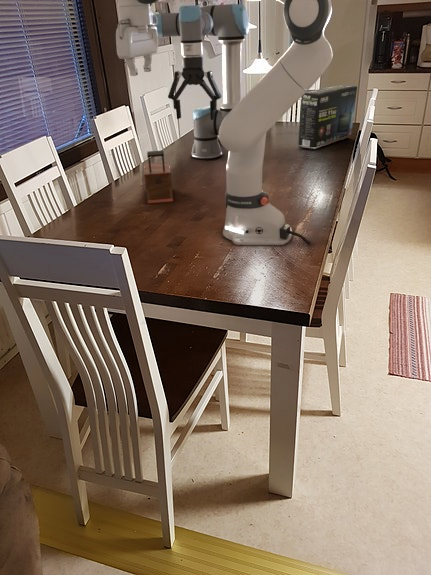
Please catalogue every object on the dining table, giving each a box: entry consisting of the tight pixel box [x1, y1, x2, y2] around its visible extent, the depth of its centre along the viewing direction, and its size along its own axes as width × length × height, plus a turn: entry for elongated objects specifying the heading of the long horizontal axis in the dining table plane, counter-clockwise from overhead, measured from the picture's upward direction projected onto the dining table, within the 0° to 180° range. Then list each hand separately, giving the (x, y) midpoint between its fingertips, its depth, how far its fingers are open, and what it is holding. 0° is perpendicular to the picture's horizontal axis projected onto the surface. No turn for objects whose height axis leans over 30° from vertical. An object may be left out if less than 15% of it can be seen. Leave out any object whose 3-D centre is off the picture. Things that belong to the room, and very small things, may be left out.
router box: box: [297, 84, 358, 151], centre depth 238 cm, size 36×11×27 cm, turn 134°
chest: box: [144, 174, 174, 204], centre depth 180 cm, size 14×10×10 cm
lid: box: [143, 149, 172, 178], centre depth 175 cm, size 14×10×8 cm
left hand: (195, 118), depth 174 cm, fingers open, 13 cm apart
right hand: (141, 73), depth 133 cm, fingers open, 8 cm apart
